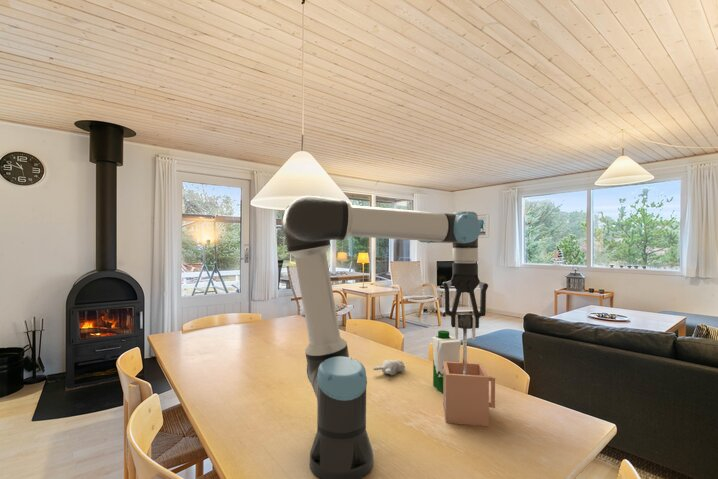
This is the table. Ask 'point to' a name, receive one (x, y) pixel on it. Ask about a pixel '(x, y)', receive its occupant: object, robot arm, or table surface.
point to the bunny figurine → (391, 367)
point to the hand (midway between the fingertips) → (464, 338)
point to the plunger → (464, 335)
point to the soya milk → (443, 355)
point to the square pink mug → (467, 393)
